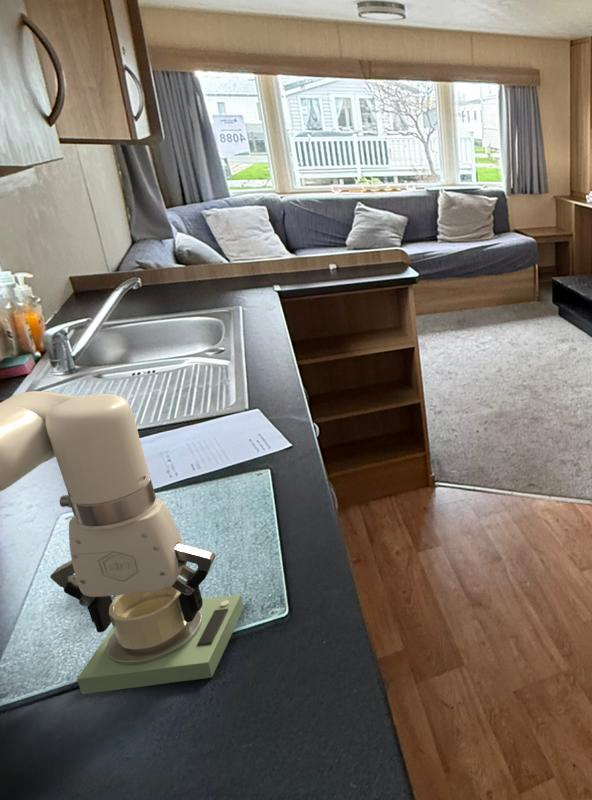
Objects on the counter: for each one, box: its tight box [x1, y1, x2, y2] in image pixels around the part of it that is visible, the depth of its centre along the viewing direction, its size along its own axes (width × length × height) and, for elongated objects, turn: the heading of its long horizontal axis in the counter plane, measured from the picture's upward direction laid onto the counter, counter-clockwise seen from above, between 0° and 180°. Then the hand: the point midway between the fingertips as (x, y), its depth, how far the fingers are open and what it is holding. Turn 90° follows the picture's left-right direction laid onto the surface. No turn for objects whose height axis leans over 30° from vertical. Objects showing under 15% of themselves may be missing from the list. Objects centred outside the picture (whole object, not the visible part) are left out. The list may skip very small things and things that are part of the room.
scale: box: [76, 594, 245, 695], centre depth 82 cm, size 14×12×3 cm
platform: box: [106, 610, 202, 665], centre depth 81 cm, size 10×10×1 cm
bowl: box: [109, 587, 187, 650], centre depth 80 cm, size 7×7×5 cm
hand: (151, 619), depth 80 cm, fingers open, 9 cm apart
